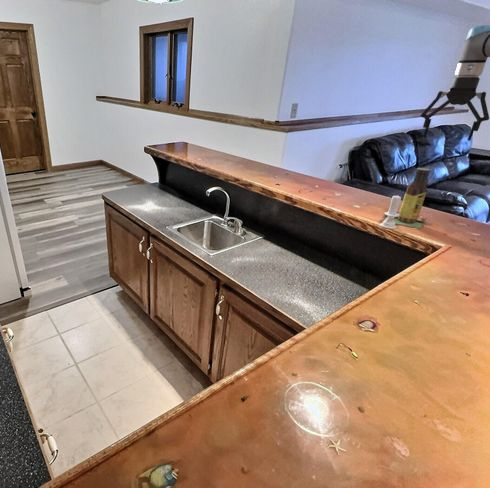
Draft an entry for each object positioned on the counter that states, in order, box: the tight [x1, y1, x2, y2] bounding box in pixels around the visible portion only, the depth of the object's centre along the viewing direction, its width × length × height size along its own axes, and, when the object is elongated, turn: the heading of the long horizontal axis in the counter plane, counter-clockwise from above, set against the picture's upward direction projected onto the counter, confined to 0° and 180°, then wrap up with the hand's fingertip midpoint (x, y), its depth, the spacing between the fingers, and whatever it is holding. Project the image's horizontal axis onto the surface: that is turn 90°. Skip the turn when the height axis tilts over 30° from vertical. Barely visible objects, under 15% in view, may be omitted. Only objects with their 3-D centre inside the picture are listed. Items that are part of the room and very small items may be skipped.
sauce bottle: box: [398, 167, 431, 223], centre depth 129 cm, size 7×6×20 cm
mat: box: [383, 214, 424, 230], centre depth 134 cm, size 12×10×1 cm
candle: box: [379, 194, 402, 230], centre depth 127 cm, size 5×5×12 cm
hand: (446, 138), depth 133 cm, fingers open, 13 cm apart
